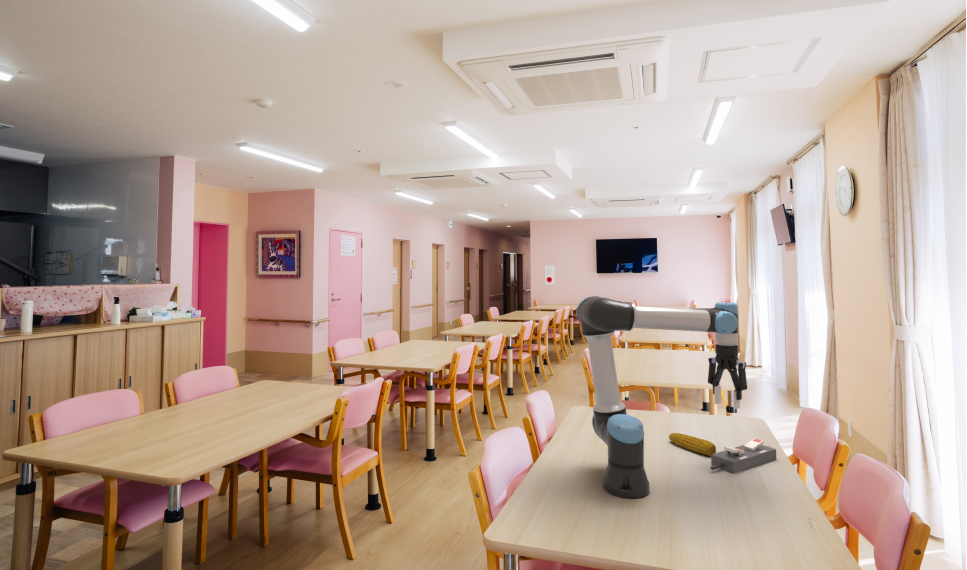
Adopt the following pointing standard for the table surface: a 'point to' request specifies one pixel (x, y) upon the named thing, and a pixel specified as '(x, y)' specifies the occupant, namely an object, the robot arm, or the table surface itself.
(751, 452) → the power strip
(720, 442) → the table surface
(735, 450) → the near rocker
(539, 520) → the table surface
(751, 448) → the far rocker
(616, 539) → the table surface
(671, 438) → the food
